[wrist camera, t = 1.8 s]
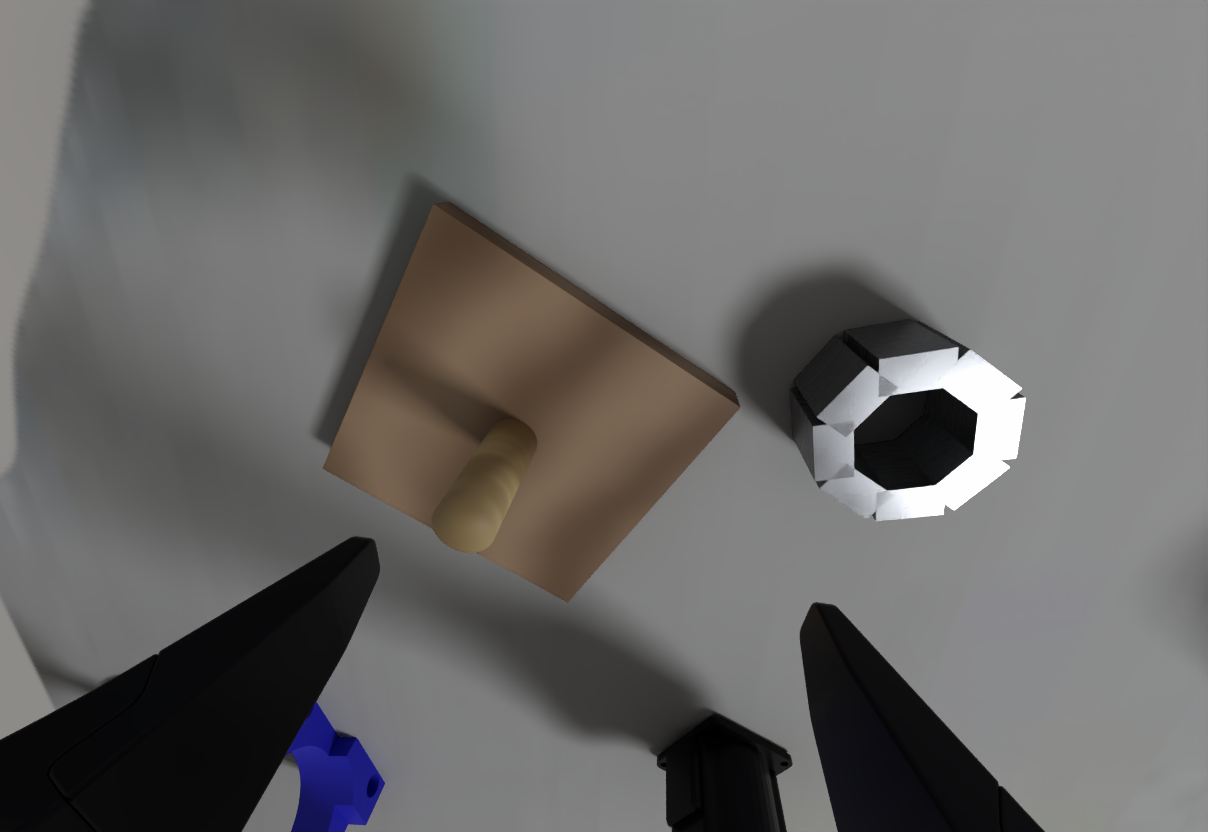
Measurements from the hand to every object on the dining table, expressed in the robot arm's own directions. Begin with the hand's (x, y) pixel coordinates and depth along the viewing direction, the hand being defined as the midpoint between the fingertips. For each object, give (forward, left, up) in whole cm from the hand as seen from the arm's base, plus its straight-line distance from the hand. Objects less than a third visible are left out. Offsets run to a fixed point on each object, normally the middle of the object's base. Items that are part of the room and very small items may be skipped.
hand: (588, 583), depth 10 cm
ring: (-9, -5, -13) cm, 16 cm away
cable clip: (+2, +38, -13) cm, 40 cm away
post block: (+3, +5, -13) cm, 14 cm away
